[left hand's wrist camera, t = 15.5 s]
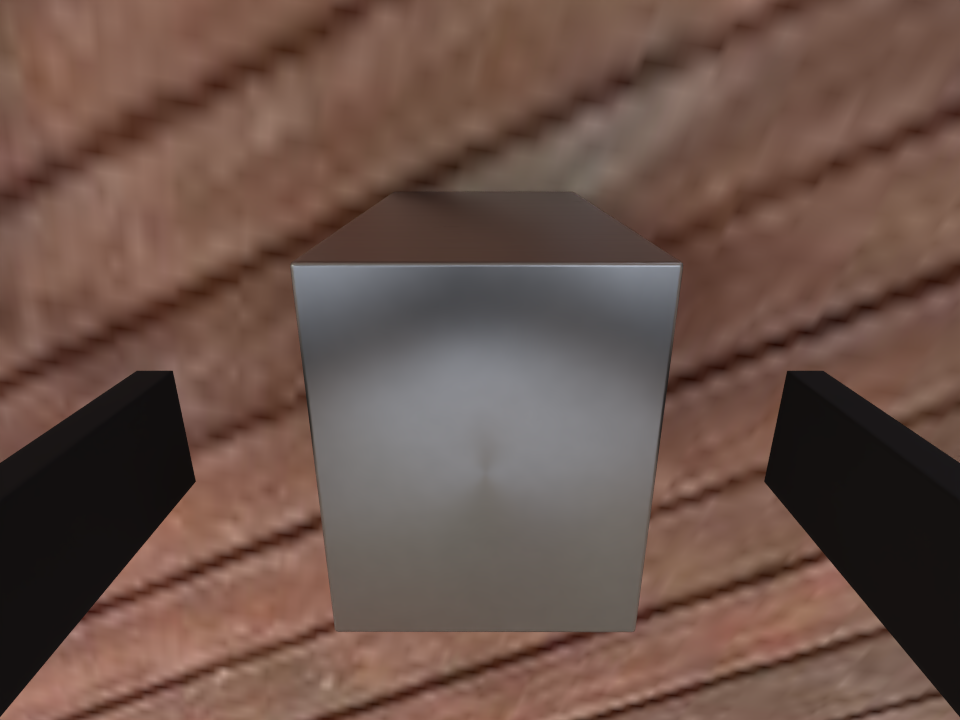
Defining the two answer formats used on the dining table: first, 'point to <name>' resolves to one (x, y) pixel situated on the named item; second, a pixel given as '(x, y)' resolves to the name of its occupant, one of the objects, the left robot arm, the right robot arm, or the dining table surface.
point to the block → (485, 410)
